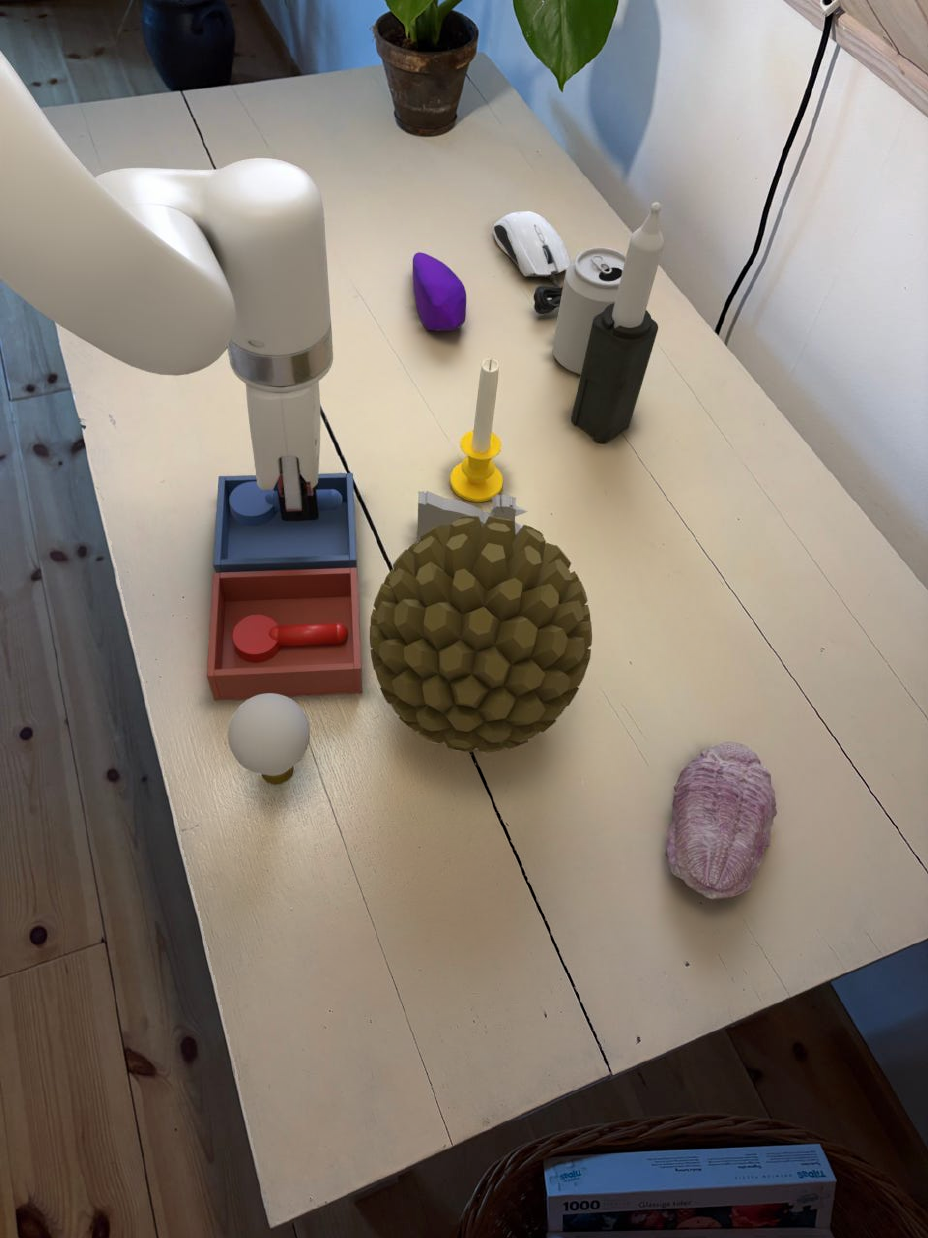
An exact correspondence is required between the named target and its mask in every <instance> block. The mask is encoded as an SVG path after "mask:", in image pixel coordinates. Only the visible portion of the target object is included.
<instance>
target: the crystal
mask: <svg viewBox="0 0 928 1238" xmlns="http://www.w3.org/2000/svg"><path fill="white" fill-rule="evenodd" d="M412 281H413V282H412V283H413V293H414V298H415V304H416V309H417V312H418V315H419V319H420V320H421V323H422V324H423V325H424V326H423V327H424V328H425V329H426V330H427V331H444V332H445V331H453V330H457V329H459V328H460V327H462V326H463V325H464V324H465V322H466V318H467V317H466V315H467V314H466V313H467V291H466V287H465V285H464V283H463V281H462V280H461V278H459V276H458V275H457V274H456V273H455V272H454V271H453V270H452V269H451V268H450V267H449V266H448V265H446V264H445V263H444V262H443V261H441V260H439V259H438V258H436V257H434V256H431V255H430V254H427V253H426V252H421V251H420V252H419V251H418V252H416V253H415V254H414V255H413V258H412Z"/></svg>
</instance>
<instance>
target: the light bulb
mask: <svg viewBox="0 0 928 1238" xmlns="http://www.w3.org/2000/svg"><path fill="white" fill-rule="evenodd" d="M310 740H311V726H310V722H309V719H308V716H307V714H306V712H305V711H304V709H303V708H302V707H301V706H300V705H299V704H298V703H297V702H296V701H295V700H293V699H292V698H291V697H286V696H283V695H280V694H274V693H266V694H260V695H257V696H254V697H252V698H250V699H245V700H244V701H243V702H242V703H241V704H240V705H239V706H238V707H237V708H236V709H235V711H234V712H233V714H232V716H231V718H230V721H229V724H228V728H227V742H228V746H229V748H230V752H231V753H232V755H233V757H234V759H235V760H236V761H237V762H238V763H239V764H240V765H241V766H242V767H243V768H244V769H246V770H248V771H250V772H252V773H255V774H258V775H261V778H262V780H263V781H264V782H266V783H267V784H270V785H274V786H275V785H276V786H278V785H282V784H285V783H287V782H288V781H289V780H290V779H291V778H292V777H293V774H294V771H295V766H296V765H297V764H298V763H299V762H300V761H301V760H302V758H303V757H304V756H305V754H306V752H307V750H308V747H309V744H310Z"/></svg>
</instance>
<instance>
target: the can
mask: <svg viewBox="0 0 928 1238" xmlns="http://www.w3.org/2000/svg"><path fill="white" fill-rule="evenodd" d="M626 255H627V254H625V253H624V252H622V251H620V250H618V249H615V248H613V247H606V246H594V247H593V246H591V247H589V248H586V249H583V250H581V251H580V252H578V253H577V255H576V256H575V257H574V260H573V261H572V262H571V264H570V265H569V267H568V268H567V269H566V270H565V275H564V279H563V285H562V286H563V290H562V296H561V301H560V307H558V313H557V319H556V324H555V328H554V335H553V340H552V347H551V348H552V350H551V351H552V353H553V356H554V358H555V360H557V362H558V363H559V364H560V365H561V366H562V367H564V368H565V369H566V370H568V371H569V372H571V373H573V374H574V373H575V374H576V375H579V376H581V372H582V367H583V363H584V358H585V354H586V349H587V345H588V340H589V336H590V331H591V327H592V322H593V319H594V317H595V316H596V315H598V314H600V313H602V312H603V311H604V310H605V308H606V307H607V306H609V305H610V304H612V303H615V300H616V296H617V292H618V288H619V284H620V280H621V276H622V271H623V267H624V263H625V259H626Z"/></svg>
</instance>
